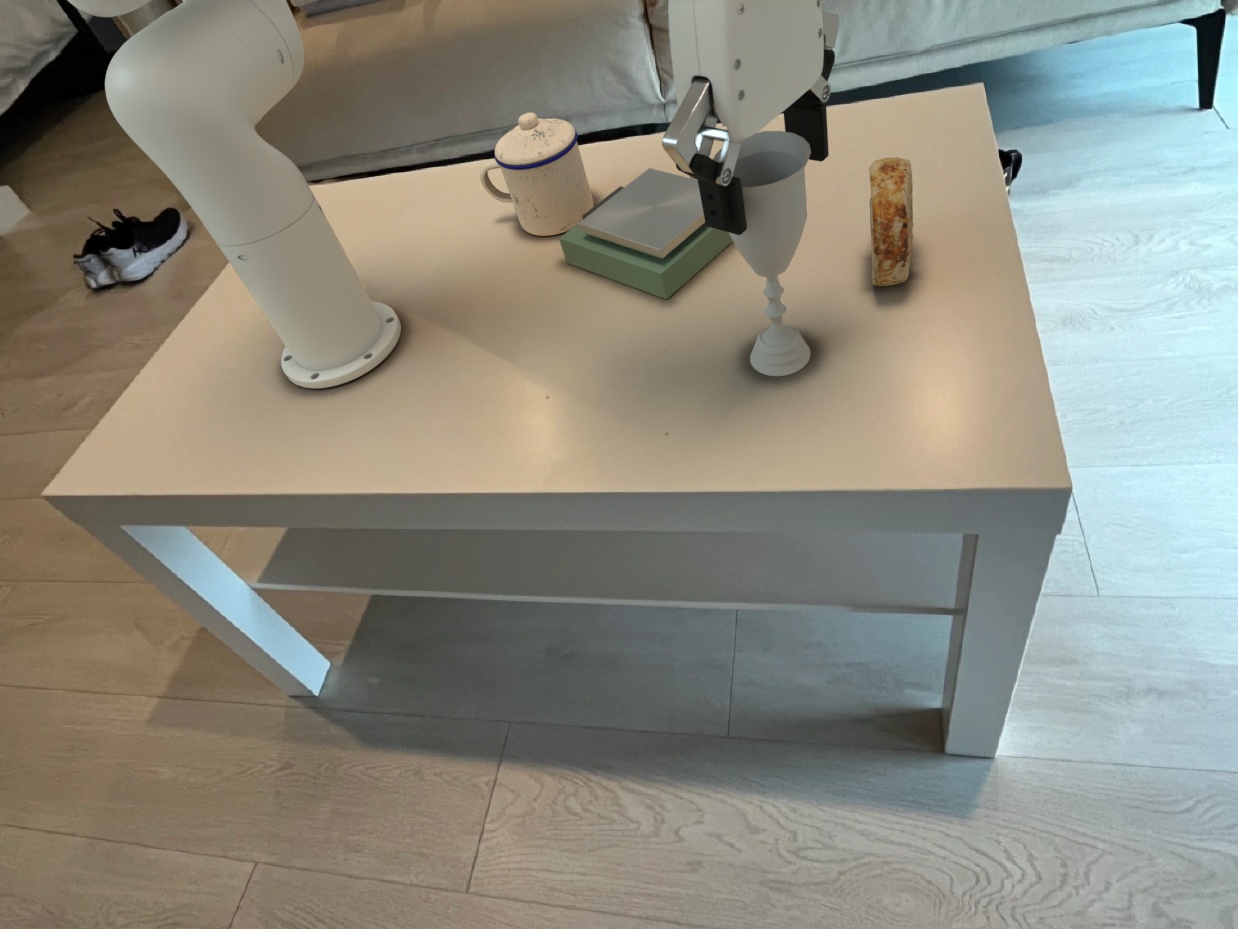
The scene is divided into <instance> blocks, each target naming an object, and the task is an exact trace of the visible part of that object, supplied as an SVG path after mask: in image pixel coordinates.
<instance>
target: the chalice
mask: <svg viewBox="0 0 1238 929" xmlns="http://www.w3.org/2000/svg"><path fill="white" fill-rule="evenodd" d="M721 151H722V148H720V149H719V150H718V151H717V152H716V153H715V154H714V157H713V158H712V159H713V160H715V161H717V162H719V158H720V154H721ZM810 154H811V150H810V145H809V143H808V142H807V141H806V140H805V139H804V138H803V137H800V136H798V135H796V134H794V133H790V132H785V130H784V131H783V130H765V131H764V130H763V131H758V132H757V133H756V134H754V135H753V136H752V137H750V138H749V139H747V140H745V141H743V142H742V145H741V149H740V152H739V156H738V159H737V163H736V166H735V170H734V173H733V177H737V178H740V181H741V186H742V193H743V200H744V207H745V215H746V222H747V229H746V231H744V232H743V233H742V234H741V235H736V234H733V233H729V232H728V233H729V235H730V236H731V238H732V240H733V241H732V242H733V244H734V245H735V247H736V249H737V251H738V253H739V254H740V255H741V257H742V258H743V259H744V261H745V262H746V263H747V265H749V267H750V268H751V270H752V271H753V272H754V274H756V275H758V276H759V277H763V278H766V284H765V288H764V289H763V295H764V296H765V297H766V298H767V301H768V305H767V306H766V307H765V309H764V314H765V316H767V317H769V319H770V325H768V326H766V327H764V328H763V330H762V331H761V332H760V333H759V334H758V335H757V337H756V340H755V343H754V344H753V348H752V350H751V353H750V355H749V360H750V364H751V366H752V368H753V369H754V370H755V371H757V372H758V373H760V374H763V375H766V376H769V377H783V376H790V375H792V374H794V373H797V372H798V371H800V370H802V369H804V368H805V366H807V364H808V363H809V362H810V359H811V355H812V354H811V348H810V347H809V345H808V344H807V342H806V340H805V339H804V338H803V336H802V334H801V333H800V331H799V330H798V329H797V328H795V327H793V326H792V325H790V324H787V323H783V316H784V315H785V313H786V312H787V307H786V305H785V304H784V303H783V302H782V301H781V297H782V295H783V294H784V291H785V289H784V287H783V286H782V285H781V283H780V281H779V280H780V279H779V275H781V274H783V273H785V272H786V271H787V269H788V268H789V266H790V264H791V263H792V260H793V258H794V256H795V253H796V251H797V249H798V247H799V244H800V242H801V238H802V235H803V233H804V229H805V225H806V222H807V218H808V207H807V206H808V205H807V190H806V189H807V188H806V174H805V173H806V171H805V168H806V166H807V164H808V162H809V157H810Z"/></svg>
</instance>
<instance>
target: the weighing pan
mask: <svg viewBox="0 0 1238 929" xmlns="http://www.w3.org/2000/svg"><path fill="white" fill-rule="evenodd" d="M623 187H624V186H623ZM704 223H705V219H704V213H703V207H702V202H701V196H700V191H699V185H698V180H696V179H692V178H690V177H686V176H682V175H679V174H675V173H670V172H666V171H662V170H658V169H654V168H650V167H649V168H648V169H646V170H644V171H643V173H641V174H640V175H638V176H637V177H636V178H635V179H633V180H632V181H631V182H630V183H628V184H627V185H626V186H625V187H624V188H623V189H622V190H621V191H619V192H618V193H617V194H615V195H614V196H613V197H612V198H610V199H609V200H608V201H606V202H605V203H604V204H603V205H601V206H600V207H599V208H597V209H596V210H595V211H594V212H592V213H591V214H590V215H588V216H587V217H586V218H585V219H583V220H582V221H581V222H580V223H578V225H579V228H580V231H581V232H583V233H586V234H589V235H592V236H595V237H598V238H601V239H604V240H607V241H610V242H613V243H616V244H619V245H622V246H625V247H628V248H631V249H634V250H637V251H640V252H643V253H646V254H649V255H652V256H655V257H658V258H661V259H663V258H664V257H665V256H666V255H667V254H669V253H670V252H671V251H672V250H673V249H674V248H676V247H677V246H678V245H679V244H680V243H681V242H683V241H684V240H685V239H686V238H687V237H689V236H690V235H691V234H692V233H693V232H694V231H696V230H697V229H698V228H699V227H700V226H701V225H703V224H704Z"/></svg>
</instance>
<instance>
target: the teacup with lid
mask: <svg viewBox="0 0 1238 929" xmlns="http://www.w3.org/2000/svg"><path fill="white" fill-rule="evenodd" d="M495 169H500V170H501V173H502V176H503V178H504V182H505V184H506V187H507V190H508V193H507V192H504V191H501V190H499V188H497V187H496V185H494V184H493V182H492V181H491V178H490V177H489V173H488V172H489V171H491V170H495ZM479 178H480V182H481V185H482V187H483V188H484V189H485V192H486V193H487V194H488V195H489V196H491V197H492V198H493V199H495V200H496V201H498V202H501V203H507V204H513V207H514V210H515V212H516V217H517V218H518V221H519V224H520V226H521V227H522V229H523V230H524V231H525V232H526V233H529V234H531V235H535V236H541V237H543V236H544V237H545V236H548V237H549V236H555V235H561V234H564V233H567V232H568V231H569V230H571V229H572V228H573V227H575V226H576V225H577V224H578V223H580V222H581V221H582V220H583V217H582V215H584V214H585V213H586V212H588V211H589V210H590V209H591V208H593V207H594V206H595V205H594V204H595V203H594V199H593V195H592V191H591V188H590V185H589V180H588V177H587V173H586V170H585V166H584V162H583V159H582V154H581V151H580V148H579V143H578V131H577V130H576V128H575V126H573V124H571V123H570V122H568V121H567V120H564V119H561V118H538V115H537V114H536V113H534V112H525V113H523V114H521V115H520V116H519V118H518V125H516V126H515V127H514V128H513V129H511V130H509V131H508V132H506V133H505V134H504V135H503V136H501V138H499V140H498V141H497V142H496V145H495V148H494V159H491V160H488V161H486V162H485V163H484V164H483V166H482V167H481V169H480V172H479Z"/></svg>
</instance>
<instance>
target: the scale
mask: <svg viewBox="0 0 1238 929" xmlns="http://www.w3.org/2000/svg"><path fill="white" fill-rule="evenodd" d="M623 188H624V186H621V185H620V186H619V187H617V188H616V189H614V190H613V191H612V192H611V193H609V194H608V195H607V196H606V197H604V198H603V199H601V200H600V201H599V202H598V203H596V204H595V205H594V206H593V208H591V209H590V210H589V211H588V212H586V213H585V214H584V215H582V217H583V219H585V218H586V217H587V216H588V215H590V214H591V213H592V212H594V211H595V210H596V209H597V208H599V207H600V206H601V205H603V204H604V203H605V202H606V201H608V200H609V199H610V198H612V197H613V196H614V195H615V194H617V193H618V192H619V191H621V190H622V189H623ZM558 240H559V243H560V246H561V250H562V252H563V255H564V259H565V262H566V263H567V264H569V265H572V266H574V267H577V268H580V269H582V270H585V271H588V272H591V273H593V274H596V275H599V276H602V277H604V278H606V279H609V280H613V281H615V282H618V283H621V284H623V285H627V286H629V287H631V288H634V289H637V290H640V291H642V292H645V293H647V294H651V295H653V296H656V297H659V298H662V299H664V300H668V299H669V298H670V297H671V296H673V295H674V294H675V293H676V292H677V291H678V290H680V288H681V287H683V286H684V285H685V284H686V283H687V282H689V281H690V280H691V279H692V278H693V277H694V276H695V275H696V274H697V273H699V271H701V270H702V269H703V268H705V266H706V265H707V264H709V263H710V262H711V261H712V260H713V259H715V257H716V256H718V255H719V254H720V253H721V252H722V251H723V250H725V249H726V248H727V247H728V246H729V245H731V243H732V242H733V240H732V238H731V236H730V235H729V233H728V232H725V231H722V230H718V229H715V228H711V227H709V226H707V224H706V223H704V224H703V225H701V226H700V227H699V228H698V229H697V230H696V231H694V232H693V233H692V234H691V235H690V236H689V237H687V238H686V239H685V240H684V241H683V242H681V243H680V244H679V245H678V246H677V247H676V248H674V249H673V250H672V251H671V252H670V253H669V254H667V255H666V256H665V257H664V258H663V259H661V258H658V257H655V256H652V255H649V254H646V253H643V252H640V251H637V250H634V249H631V248H628V247H625V246H622V245H619V244H616V243H613V242H610V241H607V240H604V239H601V238H598V237H595V236H592V235H589V234H586V233H583V232H581V231H580V228H579V225H578V224H577V225H576V226H575V227H573V228H572V229H571V230H569V231H566V232H565V233H563V235H562V236H561V237H559V238H558Z"/></svg>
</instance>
